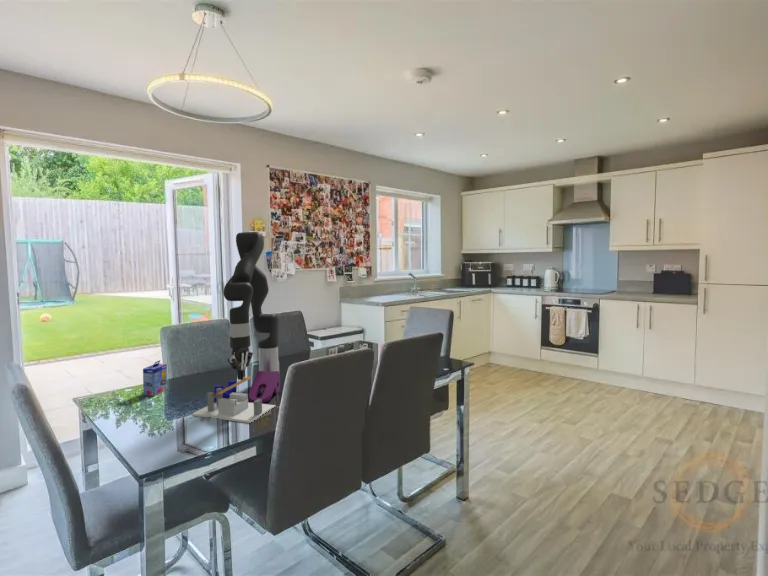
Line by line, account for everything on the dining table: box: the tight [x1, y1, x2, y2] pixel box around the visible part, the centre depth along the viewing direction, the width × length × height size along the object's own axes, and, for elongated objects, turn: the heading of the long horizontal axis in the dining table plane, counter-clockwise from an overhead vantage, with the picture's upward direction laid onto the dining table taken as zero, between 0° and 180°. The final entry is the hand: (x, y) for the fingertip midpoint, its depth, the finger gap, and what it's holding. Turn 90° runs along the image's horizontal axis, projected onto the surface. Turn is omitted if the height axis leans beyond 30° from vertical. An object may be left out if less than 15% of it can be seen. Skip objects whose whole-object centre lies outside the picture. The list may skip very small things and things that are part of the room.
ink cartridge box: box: [142, 360, 168, 397], centre depth 190 cm, size 10×6×14 cm, turn 175°
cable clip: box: [213, 380, 238, 402], centre depth 182 cm, size 12×4×6 cm, turn 168°
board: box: [192, 388, 276, 424], centre depth 167 cm, size 17×26×8 cm, turn 73°
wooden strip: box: [214, 375, 252, 398], centre depth 165 cm, size 19×3×1 cm, turn 72°
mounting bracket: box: [248, 370, 281, 404], centre depth 185 cm, size 10×8×18 cm
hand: (241, 379), depth 163 cm, fingers closed
